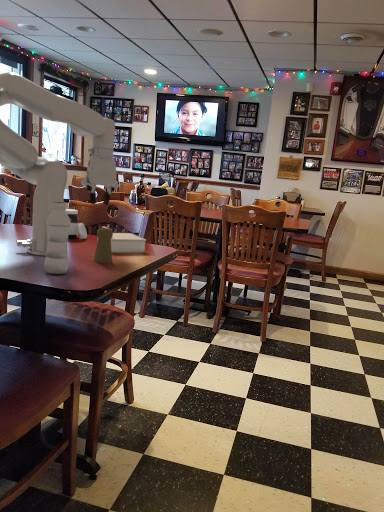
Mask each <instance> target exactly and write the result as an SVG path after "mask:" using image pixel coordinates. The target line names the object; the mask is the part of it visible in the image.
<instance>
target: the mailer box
mask: <svg viewBox="0 0 384 512" xmlns="http://www.w3.org/2000/svg"><path fill="white" fill-rule="evenodd" d="M96 242H98V238H97V241H96ZM145 248H146V241H111V251H112V254H137V253H138V254H139V253H141V254H144V253H145Z"/></svg>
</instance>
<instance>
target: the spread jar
mask: <svg viewBox="0 0 384 512" xmlns="http://www.w3.org/2000/svg"><path fill="white" fill-rule="evenodd" d="M65 212H66V213H67V215H68V216H69V218H70V222H71V223H70V229H69V234H68V239H76V238H78V235H79V238H80V239H82V240H84V239H87V236H88V235H87V234H88V233H87V229H86V226H85V224H84V223H83V222H80V223H79V216H78V215H79V214H78V212H79V211H78V209H72V208H66V210H65Z"/></svg>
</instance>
